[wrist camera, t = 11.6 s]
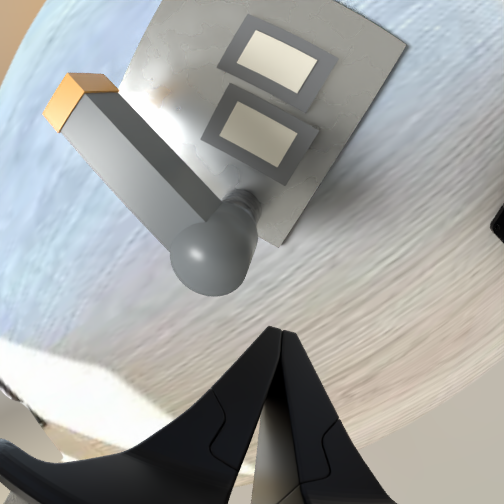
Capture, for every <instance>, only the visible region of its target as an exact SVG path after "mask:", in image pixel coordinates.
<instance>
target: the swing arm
mask: <svg viewBox="0 0 504 504" xmlns="http://www.w3.org/2000/svg"><path fill="white" fill-rule="evenodd" d="M119 91H120V90H119V89H118V88H117V87H116V86H115V85H114V84H113V83H112V82H111V81H110V80H109V79H108V78H107V77H106V76H105V75H104V74H93V73H67V74H66V75H65V77H64V78H63V80H62V82H61V83H60V85H59V86H58V88H57V90H56V91H55V93H54V94H53V96H52V98H51V99H50V101H49V103H48V105H47V106H46V108H45V110H44V112H43V113H42V114H43V115H44V117H45V118H46V119H47V120H48V122H49V123H50V124H51V125H52V126H53V128H54V129H55V130H56V131H57V133H60V132H61V133H62V134H63V135H64V136H65V138H66V139H67V140H68V141H69V142H70V144H71V145H72V146H73V147H74V148H75V149H76V151H77V152H78V153H79V154H80V155H81V156H82V158H83V159H84V160H85V161H86V162H87V163H88V164H89V166H90V167H91V168H92V169H93V170H94V171H95V172H96V173H97V175H98V176H99V177H100V178H101V179H102V180H103V181H104V182H105V184H106V185H107V186H108V187H109V188H110V189H111V190H112V191H113V192H114V193H115V195H116V196H117V197H118V198H119V199H120V200H121V201H122V202H123V203H124V204H125V205H126V207H127V208H128V209H129V210H130V211H131V212H132V213H133V214H134V215H135V216H136V217H137V218H138V219H139V220H140V222H141V223H142V224H143V225H144V226H145V227H146V228H147V229H148V230H149V231H150V232H151V233H152V234H153V235H154V236H155V237H156V238H157V239H158V240H159V241H160V243H161V244H162V245H163V246H164V247H165V248H166V249H167V250H168V251H169V252H170V260H171V265H172V268H173V270H174V272H175V274H176V276H177V277H178V278H179V280H180V281H181V282H182V283H183V284H184V285H185V286H186V287H188V288H189V289H191V290H192V291H194V292H196V293H199V294H202V295H206V296H223V295H226V294H229V293H231V292H233V291H234V290H236V289H237V288H238V287H239V286H240V285H241V284H242V282H243V281H244V279H245V276H246V274H247V271H248V268H249V265H250V263H251V260H252V257H253V254H254V252H255V249H256V246H257V242H258V232H257V228H256V225H255V223H254V221H253V219H252V218H251V216H250V215H249V214H248V213H247V212H246V211H245V210H243V209H242V208H240V207H238V206H236V205H234V204H230V203H224V202H222V201H221V200H220V199H219V198H218V197H217V196H216V195H215V194H214V193H213V192H212V190H211V189H210V188H209V187H208V186H207V185H206V184H205V183H204V182H203V181H202V180H201V179H200V178H199V177H198V176H197V175H196V174H195V172H194V171H193V170H192V169H191V168H190V167H189V166H188V165H187V164H186V163H185V162H184V161H183V160H182V159H181V158H180V157H179V156H178V155H177V153H176V152H175V151H174V150H173V149H172V148H171V147H170V146H169V145H168V144H167V143H166V142H165V141H164V140H163V139H162V138H161V137H160V136H159V135H158V134H157V132H156V131H155V130H154V129H153V128H152V127H151V126H150V125H149V124H148V123H147V122H146V121H145V120H144V119H143V118H142V117H141V116H140V115H139V114H138V113H137V112H136V111H135V110H134V108H133V107H132V106H131V105H130V104H129V103H128V102H127V101H126V100H125V99H124V98H123V97H122V96H121V95H120V94H119V93H118V92H119Z"/></svg>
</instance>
